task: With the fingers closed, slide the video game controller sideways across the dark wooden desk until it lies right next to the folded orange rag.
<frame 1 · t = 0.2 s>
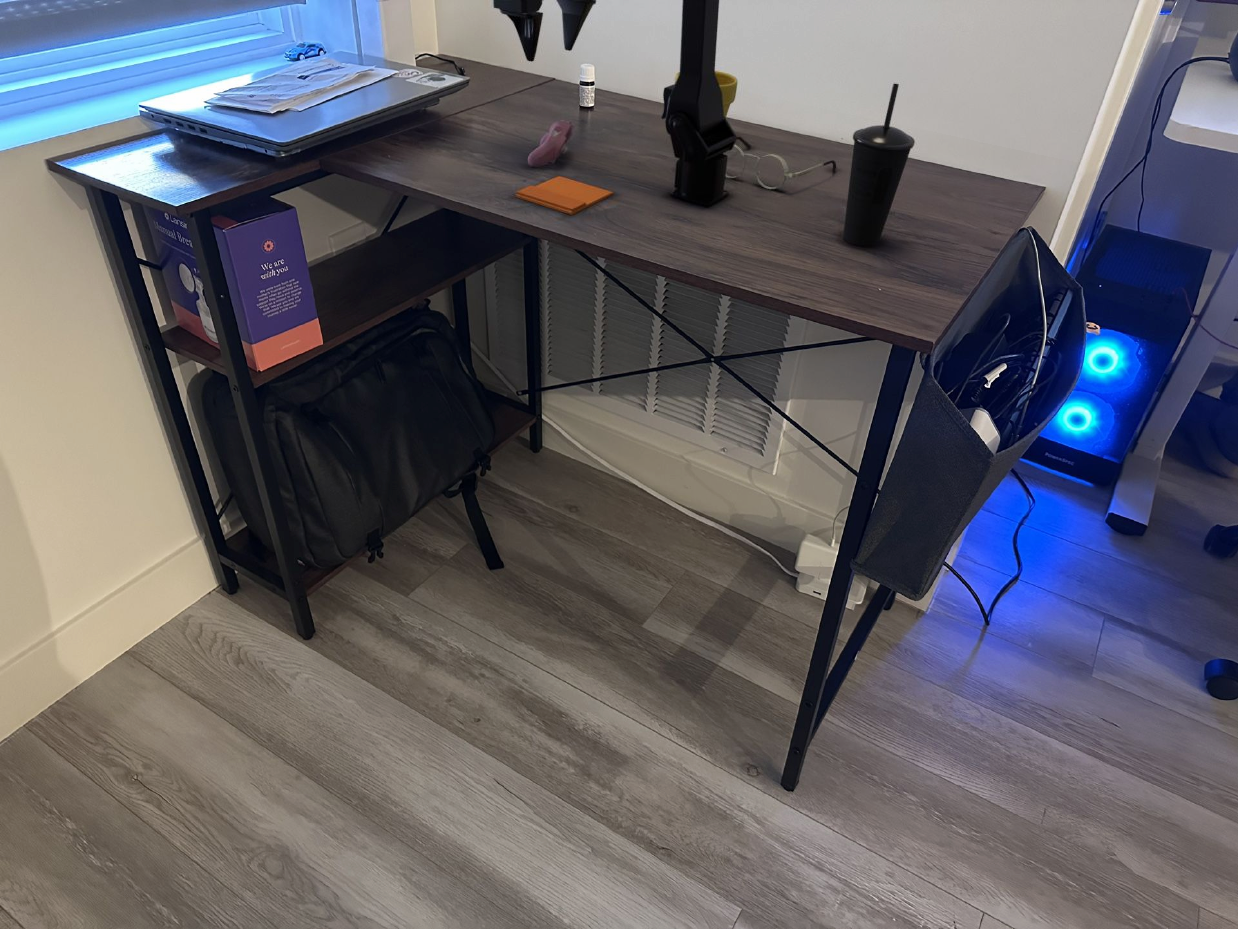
hand: (549, 55, 132), 15 cm above the table, tool pointing down, fingers open, 9 cm apart
orange rag: (564, 195, 127), on the table
drinking cup: (860, 240, 119), on the table
flower pot: (700, 137, 151), on the table
round eyeglasses: (770, 171, 139), on the table
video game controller: (552, 160, 139), on the table
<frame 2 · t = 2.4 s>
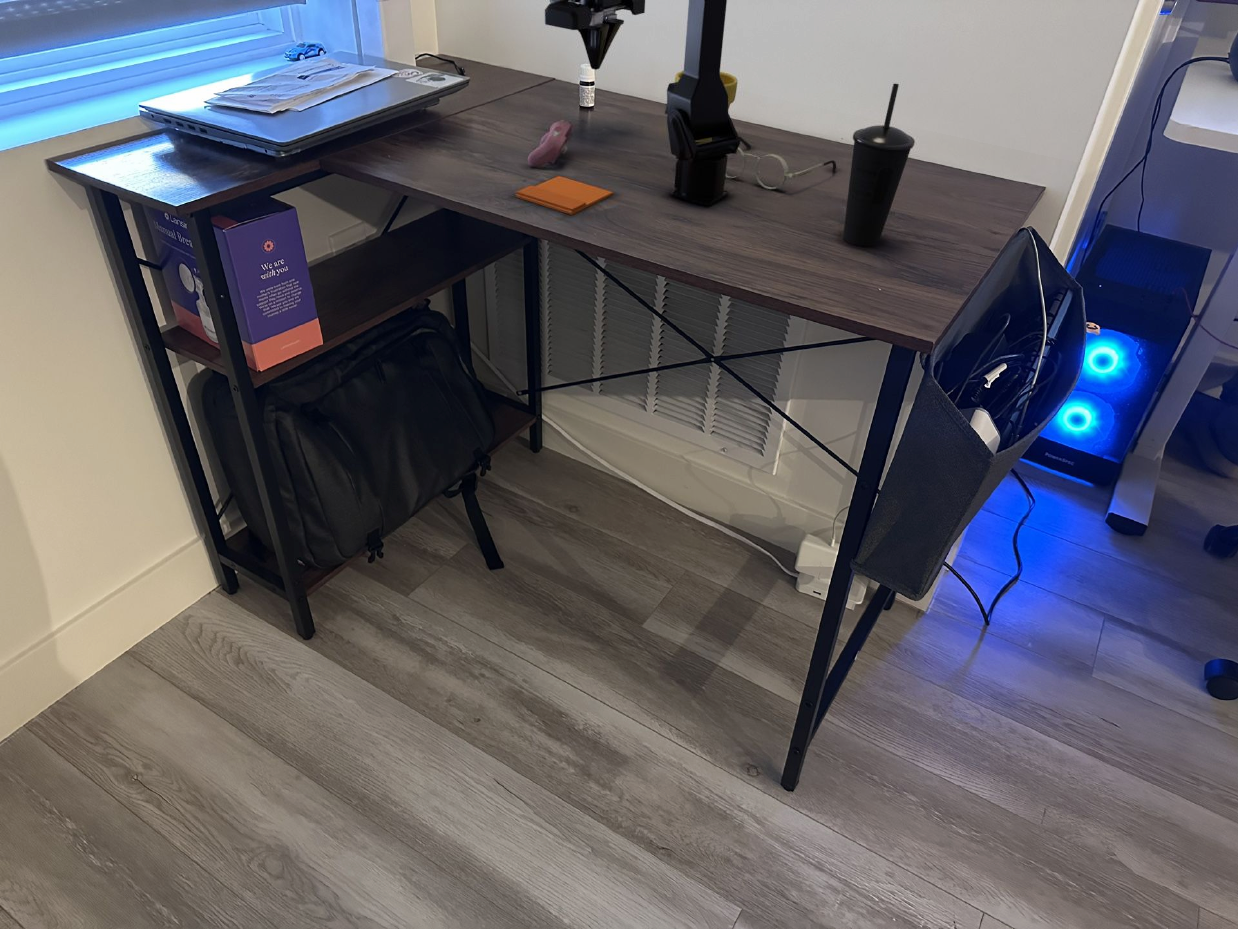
hand: (595, 68, 139), 12 cm above the table, tool pointing down, fingers closed
nothing on the table moved.
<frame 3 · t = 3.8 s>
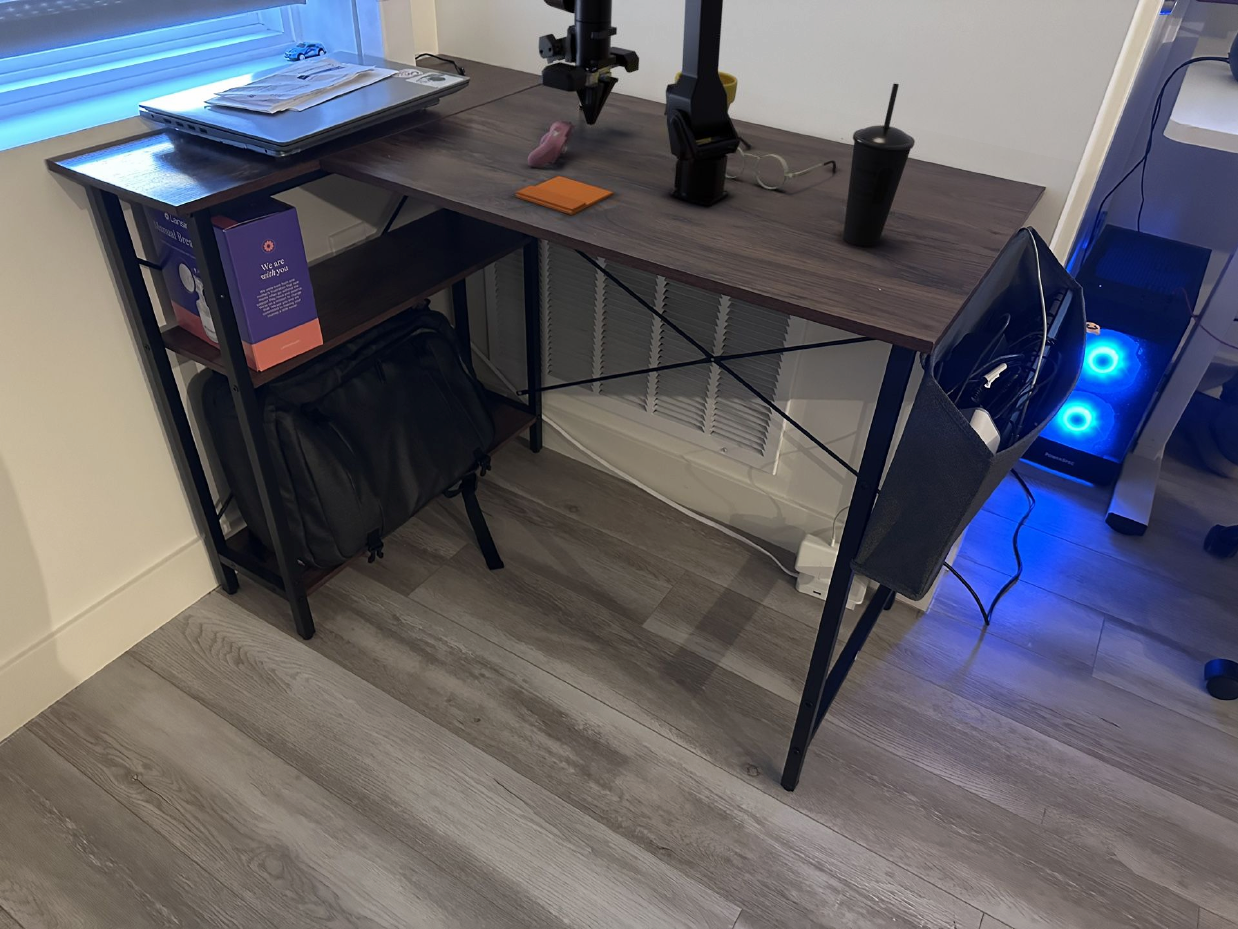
hand: (590, 124, 144), 3 cm above the table, tool pointing down, fingers closed
nothing on the table moved.
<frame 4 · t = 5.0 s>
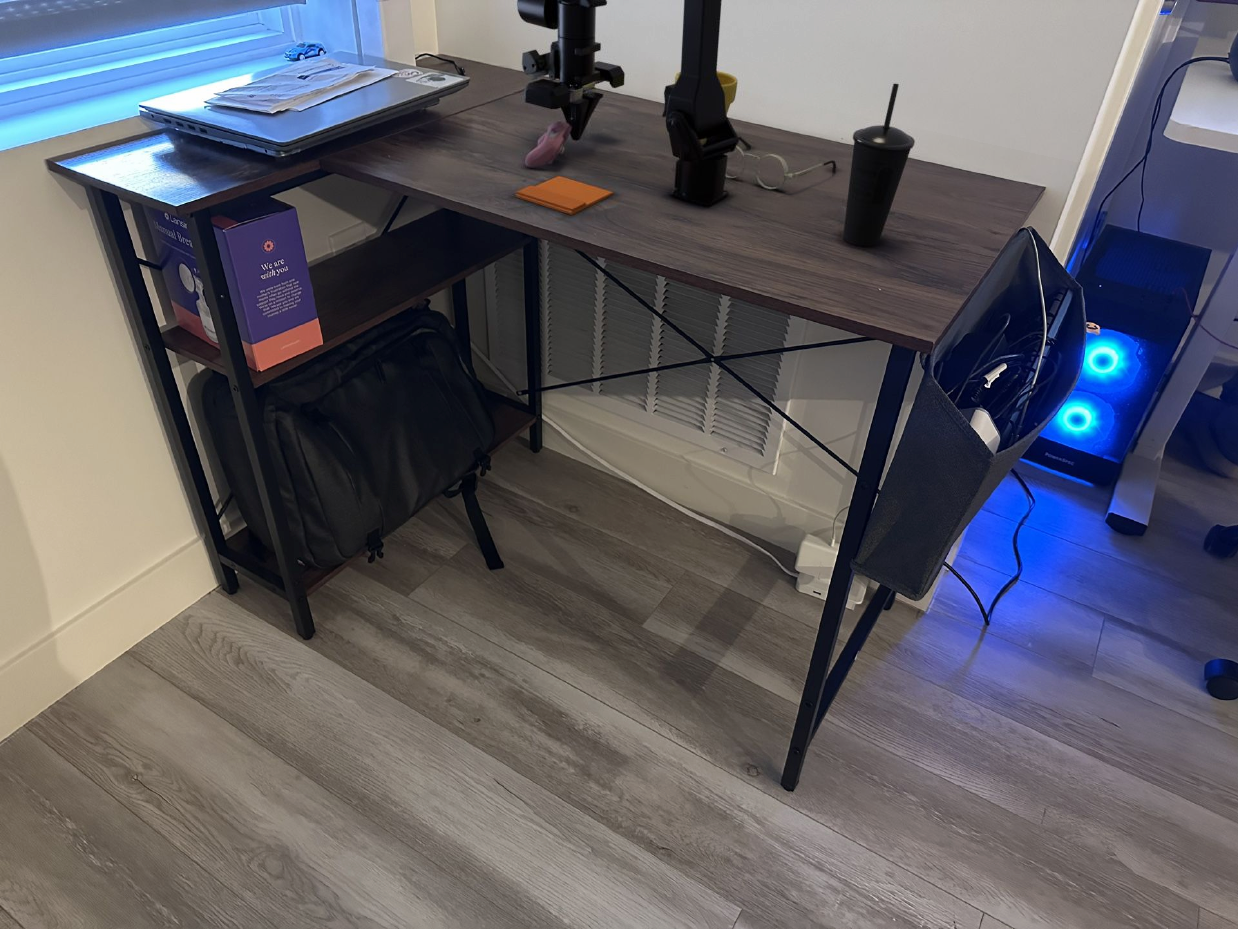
hand: (575, 140, 142), 2 cm above the table, tool pointing down, fingers closed
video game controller: (549, 161, 139), on the table, touching gripper
everything else where it was.
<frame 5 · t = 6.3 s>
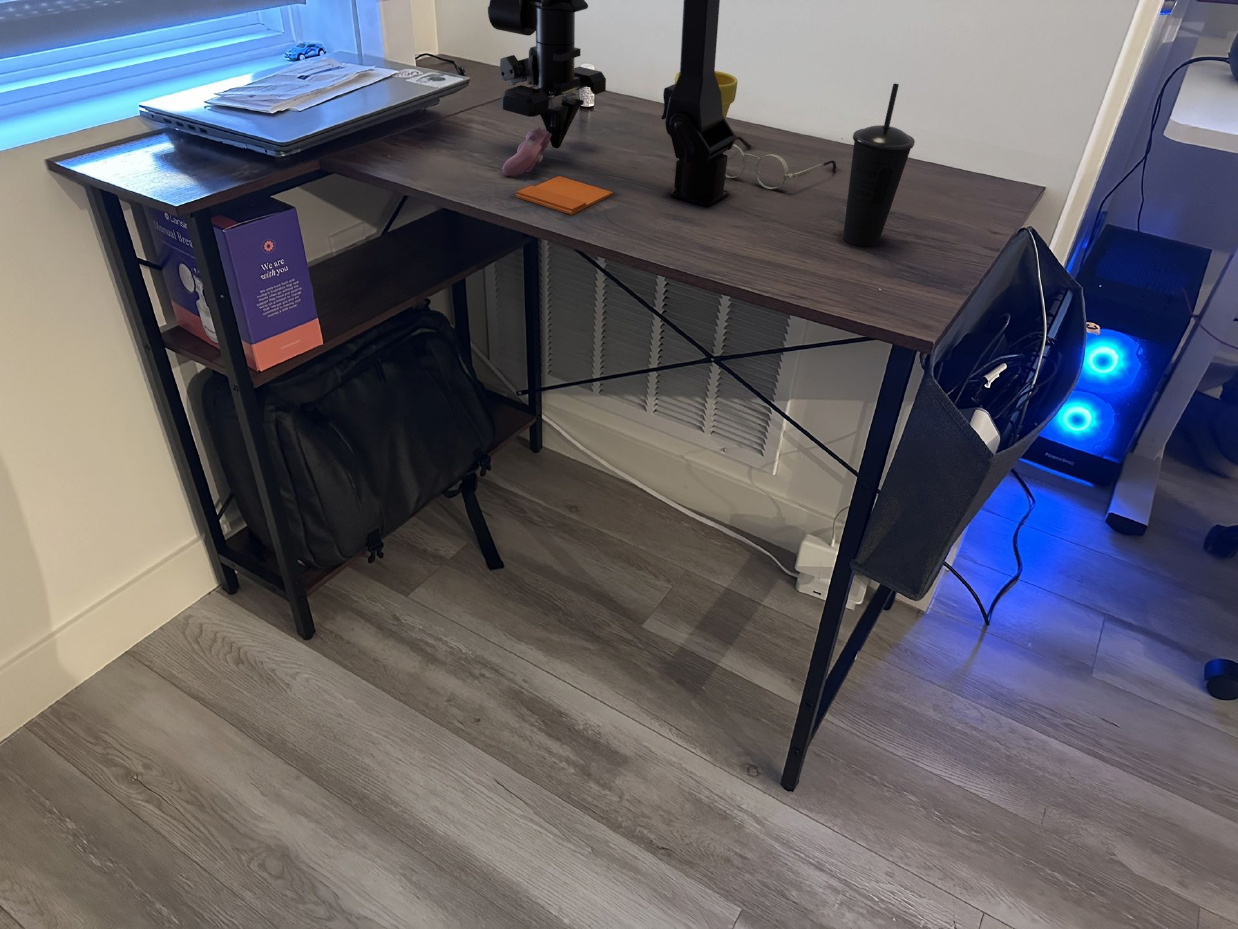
hand: (556, 147, 139), 2 cm above the table, tool pointing down, fingers closed
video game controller: (528, 169, 135), on the table, touching gripper
everything else where it was.
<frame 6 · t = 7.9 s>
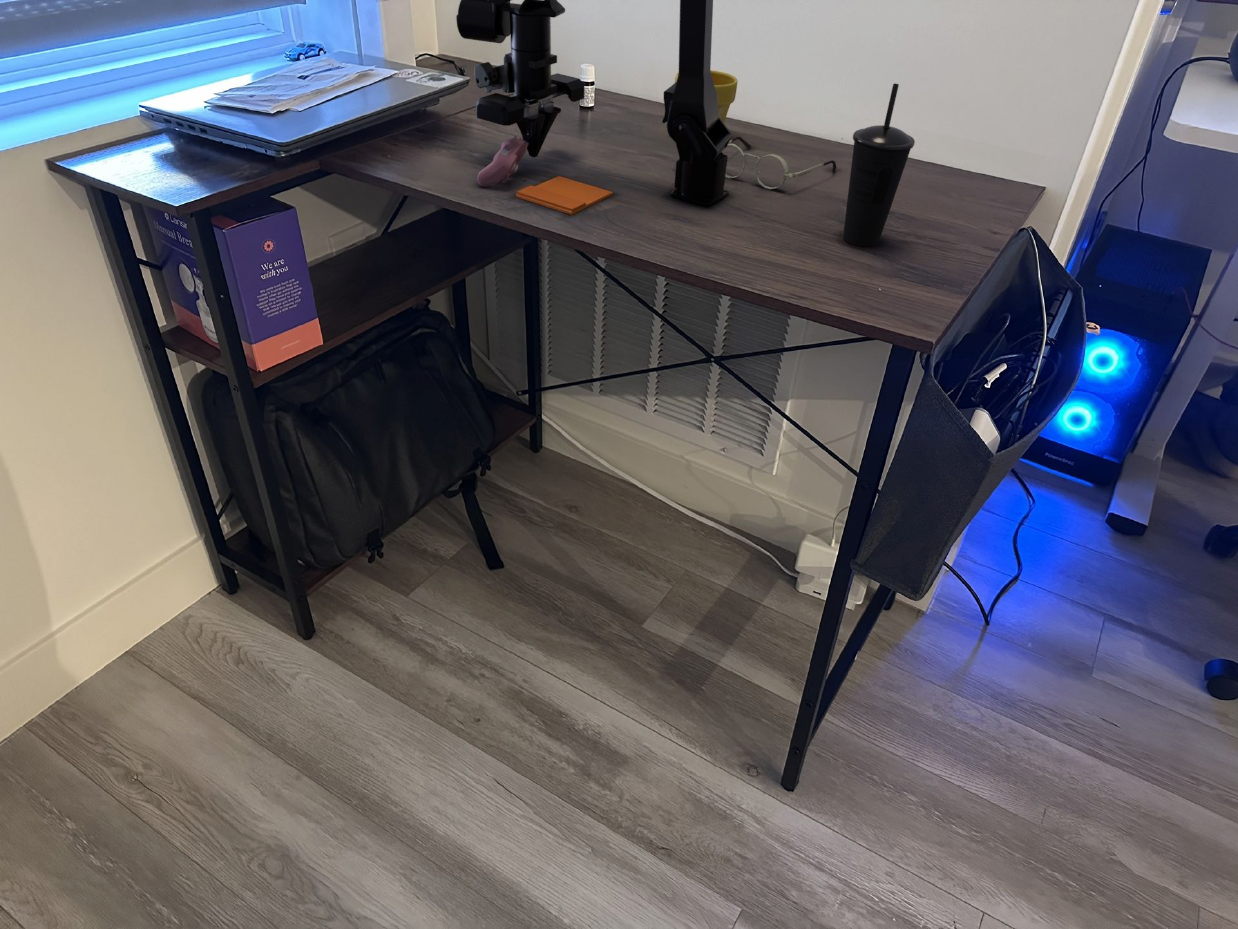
hand: (533, 156, 135), 2 cm above the table, tool pointing down, fingers closed
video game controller: (504, 179, 132), on the table, touching gripper
everything else where it was.
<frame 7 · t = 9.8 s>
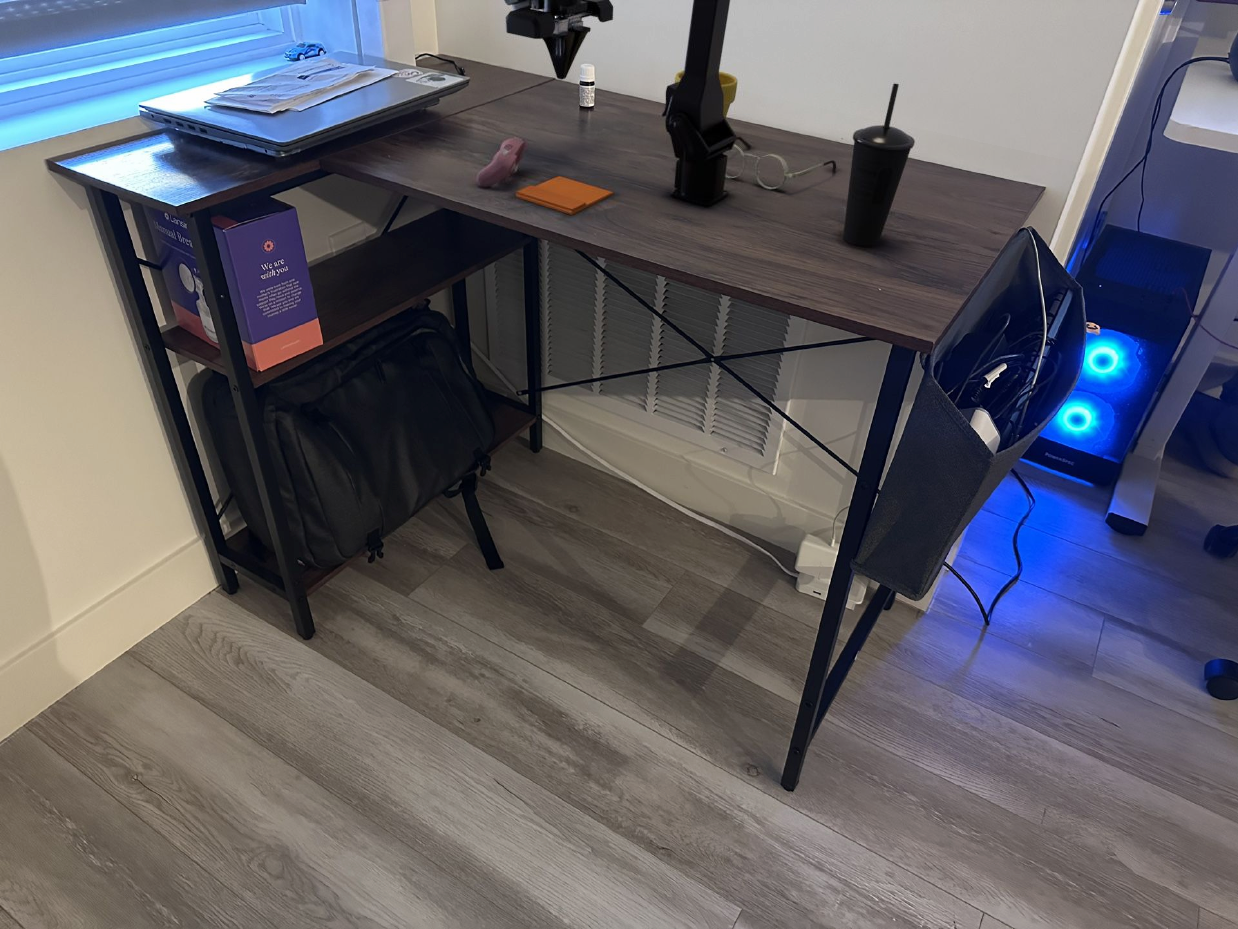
hand: (561, 78, 133), 12 cm above the table, tool pointing down, fingers closed
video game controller: (504, 179, 132), on the table
everything else where it was.
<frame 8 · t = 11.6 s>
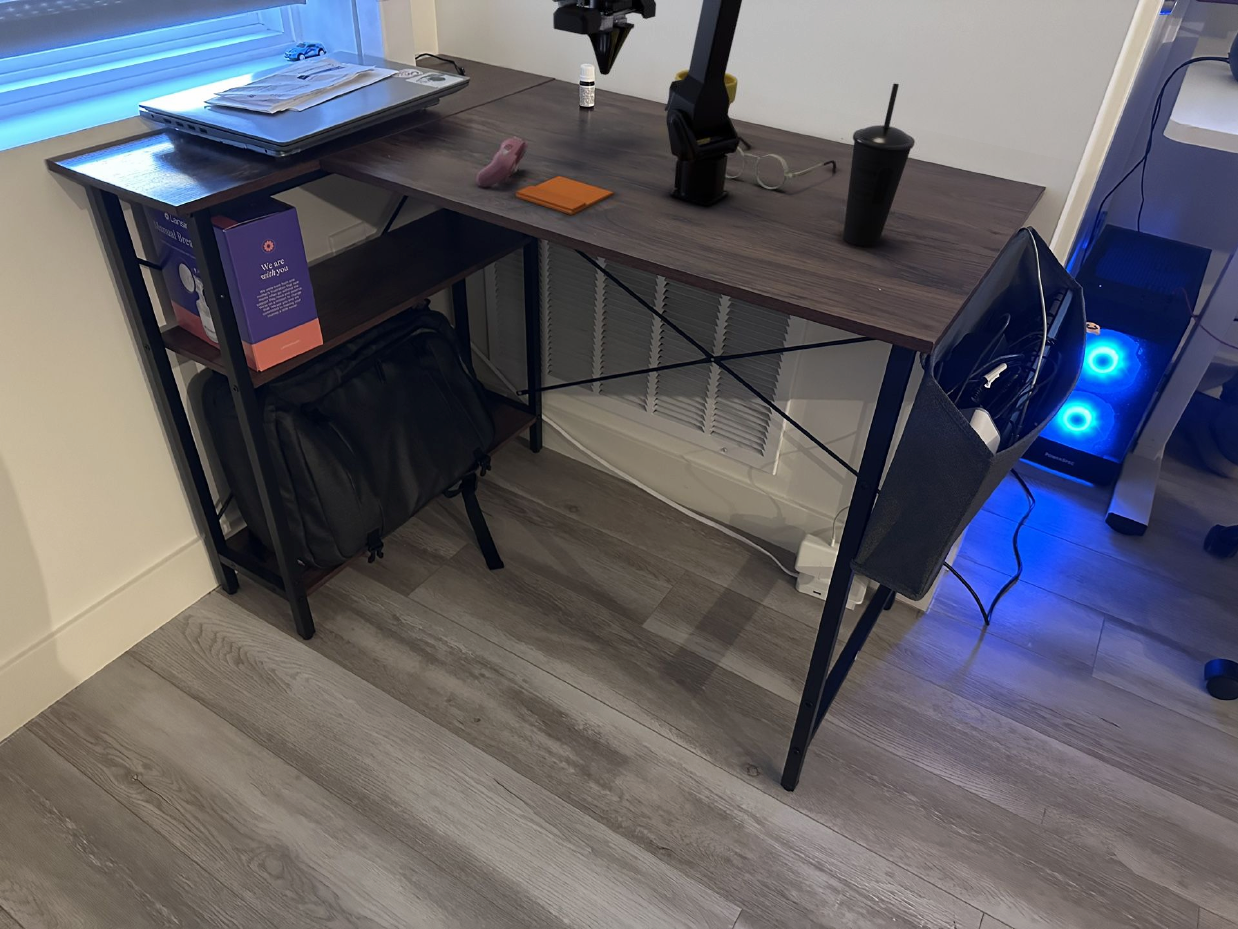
hand: (604, 74, 135), 12 cm above the table, tool pointing down, fingers closed
nothing on the table moved.
at the end: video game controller inside the target area (0.4 cm from its centre), on the table; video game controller 11.2 cm from the orange rag (horizontally); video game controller moved 11.4 cm from its start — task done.
